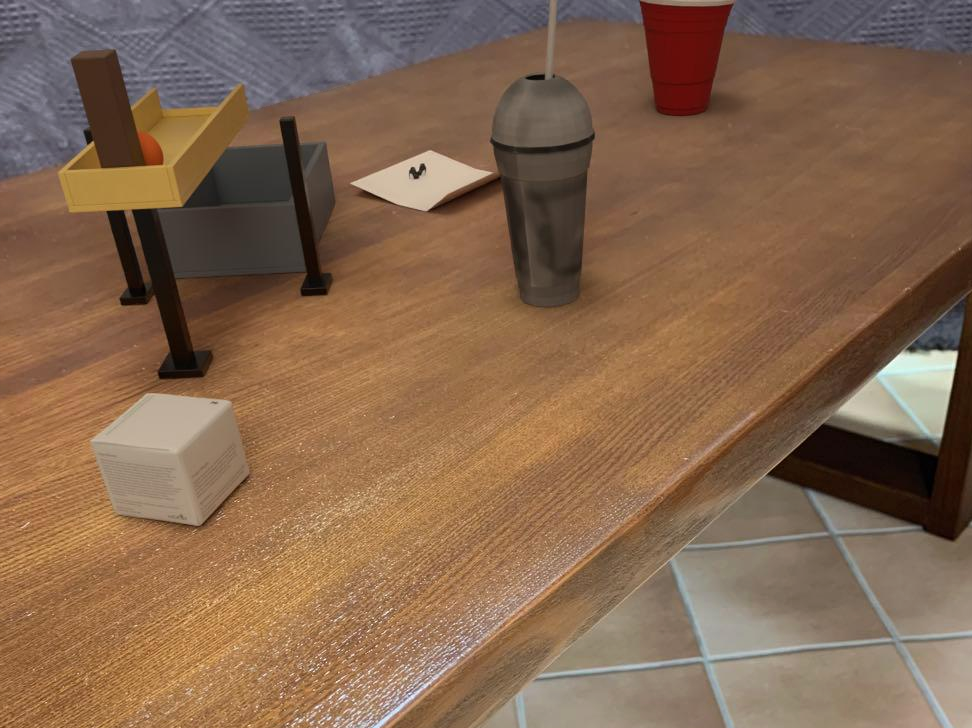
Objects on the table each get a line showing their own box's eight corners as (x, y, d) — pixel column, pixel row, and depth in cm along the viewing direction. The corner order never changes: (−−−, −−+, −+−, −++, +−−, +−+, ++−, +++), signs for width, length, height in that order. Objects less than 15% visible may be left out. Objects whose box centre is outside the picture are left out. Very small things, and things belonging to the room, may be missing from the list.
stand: (299, 372, 72) (261, 181, 65) (63, 384, 73) (-2, 195, 65) (332, 279, 85) (304, 111, 78) (132, 290, 86) (84, 123, 78)
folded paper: (431, 161, 110) (429, 141, 109) (527, 178, 104) (526, 157, 103) (349, 195, 102) (346, 174, 101) (448, 216, 96) (446, 194, 95)
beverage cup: (487, 287, 83) (464, -1, 71) (573, 268, 85) (565, -13, 73) (523, 322, 77) (505, 17, 65) (614, 301, 79) (612, 2, 68)
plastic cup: (752, 108, 120) (760, -11, 113) (677, 127, 115) (680, 4, 108) (688, 91, 127) (692, -22, 120) (615, 108, 123) (615, -9, 116)
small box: (167, 462, 64) (146, 388, 61) (253, 474, 62) (235, 398, 59) (110, 516, 59) (84, 439, 56) (201, 530, 58) (179, 451, 55)
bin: (306, 272, 87) (294, 204, 84) (168, 279, 87) (151, 212, 84) (335, 201, 101) (326, 141, 98) (216, 207, 101) (203, 147, 98)
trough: (182, 207, 64) (145, 56, 59) (69, 213, 64) (23, 62, 59) (250, 117, 80) (225, -8, 75) (159, 121, 81) (129, -2, 76)
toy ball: (102, 134, 67) (105, 182, 67) (123, 118, 64) (125, 168, 64) (149, 145, 69) (151, 192, 69) (170, 130, 67) (173, 178, 67)
